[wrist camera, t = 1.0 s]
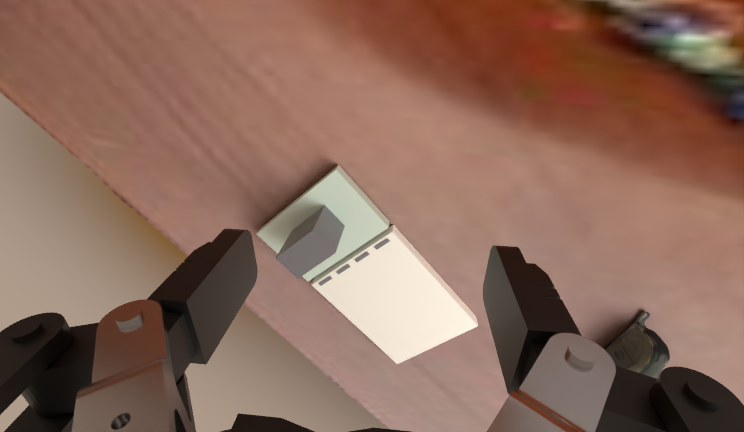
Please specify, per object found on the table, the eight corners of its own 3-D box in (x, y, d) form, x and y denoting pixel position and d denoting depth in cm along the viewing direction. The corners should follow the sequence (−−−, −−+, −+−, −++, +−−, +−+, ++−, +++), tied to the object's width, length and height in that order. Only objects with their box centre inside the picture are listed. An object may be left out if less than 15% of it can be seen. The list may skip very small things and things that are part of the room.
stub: (389, 221, 37) (385, 255, 31) (310, 274, 41) (295, 312, 36) (338, 164, 34) (324, 191, 29) (260, 228, 39) (235, 261, 33)
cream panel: (476, 316, 42) (478, 326, 41) (397, 354, 47) (397, 364, 45) (393, 224, 37) (392, 232, 36) (314, 276, 42) (311, 285, 40)
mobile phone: (601, 428, 42) (692, 352, 35) (578, 422, 42) (665, 343, 35) (584, 390, 47) (662, 315, 39) (563, 384, 46) (637, 307, 39)
